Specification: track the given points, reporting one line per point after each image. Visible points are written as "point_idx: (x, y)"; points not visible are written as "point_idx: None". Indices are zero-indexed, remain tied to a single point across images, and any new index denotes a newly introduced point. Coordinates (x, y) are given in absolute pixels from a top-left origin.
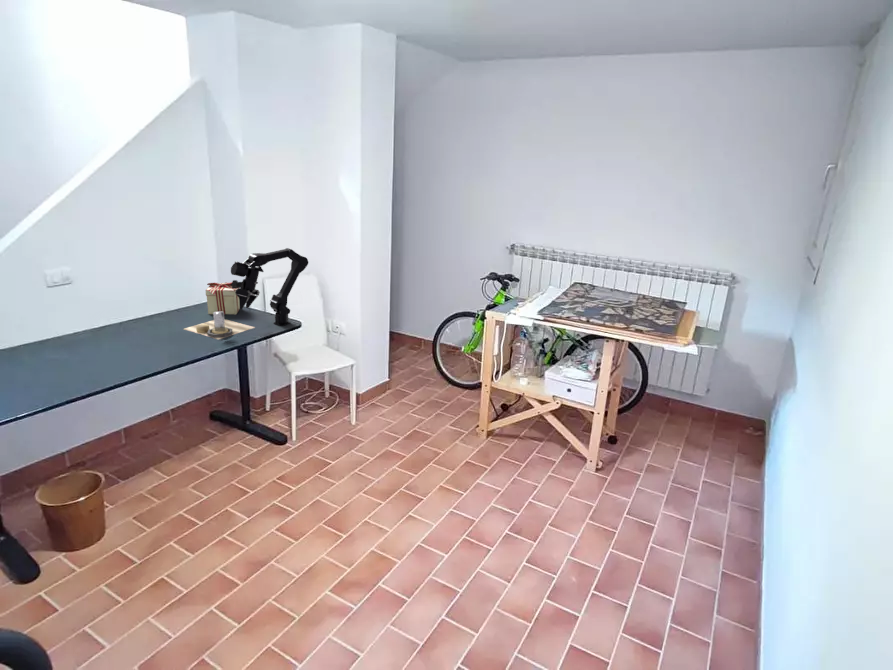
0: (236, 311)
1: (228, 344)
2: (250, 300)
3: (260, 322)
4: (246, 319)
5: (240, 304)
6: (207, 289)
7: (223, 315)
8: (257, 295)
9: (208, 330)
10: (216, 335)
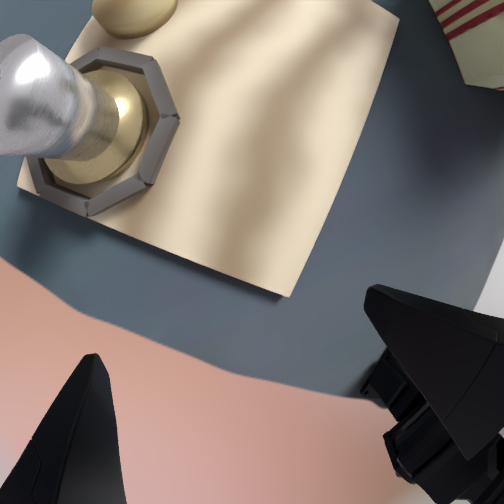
0: (491, 85)
1: (10, 260)
2: (445, 381)
3: (412, 260)
4: (442, 157)
5: (59, 420)
6: None
7: (6, 153)
8: (492, 450)
9: (88, 54)
10: None
